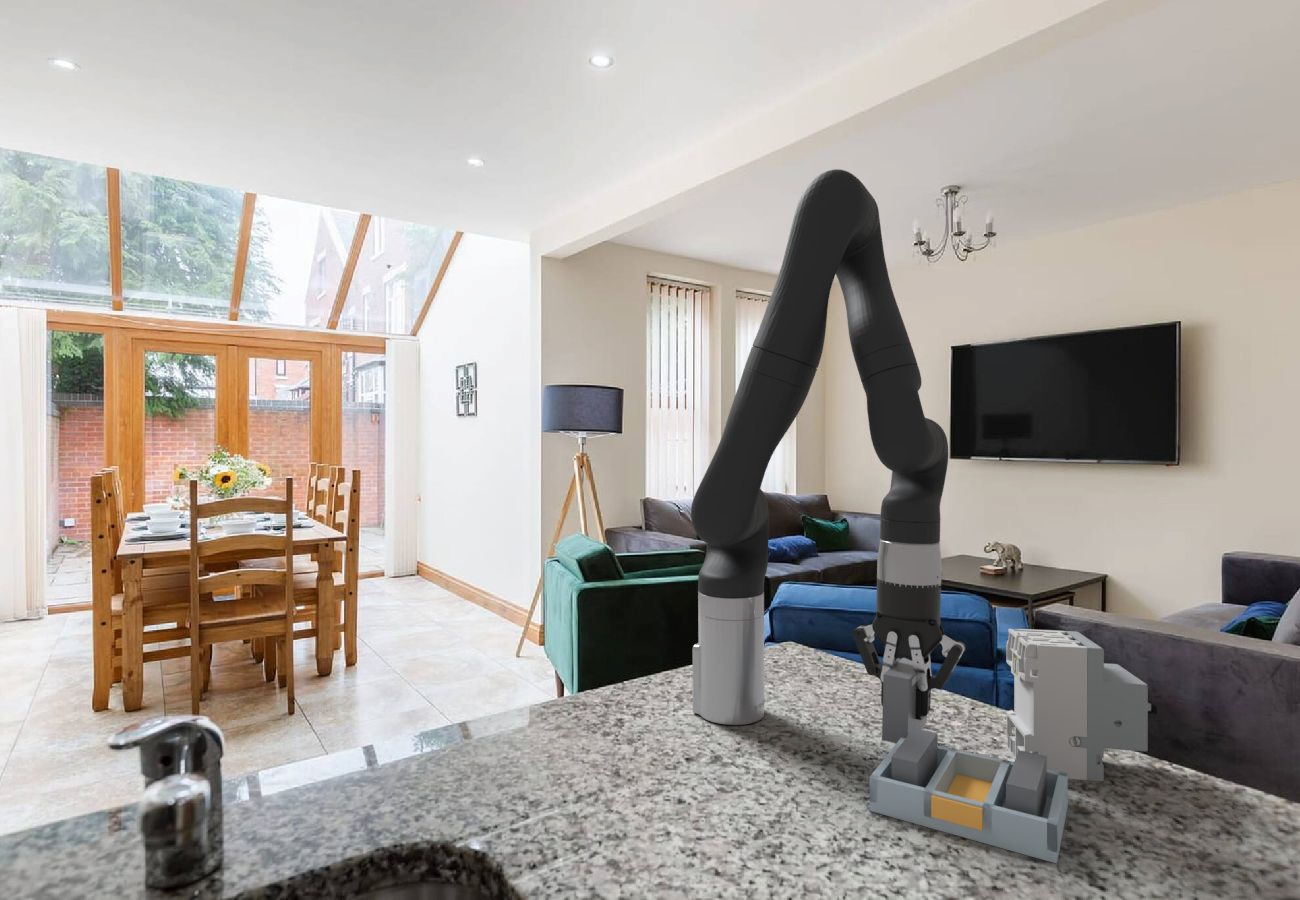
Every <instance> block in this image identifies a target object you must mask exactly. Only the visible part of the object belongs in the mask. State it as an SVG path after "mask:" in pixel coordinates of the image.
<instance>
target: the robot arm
mask: <svg viewBox="0 0 1300 900" xmlns="http://www.w3.org/2000/svg"><path fill="white" fill-rule="evenodd" d="M879 211H880V210H879V207H878V203H877V201H876V199H875V198H874V196H873V195H872V194H871V193H870V191H869V190H868V188H867V187H866V186H865V185H864V183H863V182H862V181H861V180H860V179H859V178H858V177H857V176H856V175H854V174H853V173H851V172H849V171H847V170H844V169H840V168H839V169H837V168H836V169H835V168H834V169H830V170H827V171H825V172H823V173H820V174H818V175H816V177H815V178H814V179H812V181H811V182H810V183H809V184H808V185H807V186H806V187H805V189H804V190H803V192H802V194H801V196H800V197H799V200H798V202H797V204H796V208H795V211H794V216H793V219H792V223H791V227H790V231H789V236H788V239H787V242H786V246H785V247H786V248H785V251H784V256H783V260H782V263H781V267H780V270H779V273H778V277H777V279H776V282H775V283H774V284H775V285H774V288H773V290H772V292H771V294H770V298H769V300H768V302H767V306H766V309H765V311H764V315H763V317H762V318H761V319H762V320H761V322H760V325H759V328H758V331H757V333H756V336H755V338H754V340H753V343H752V347H751V348H750V351H749V353H748V357H747V359H746V362H745V365H744V368H743V371H742V373H741V378H740V380H739V385H738V388H737V390H736V393H735V395H734V399H733V401H732V404H731V407H730V410H729V413H728V416H727V420H726V422H725V425H724V430H723V432H722V436H721V438H720V441H719V443H718V446H717V448H716V449H715V450H716V451H715V453H714V454H713V457H712V459H711V460H710V464H709V465H708V467H707V469H706V472H705V473H704V475H703V477H702V479H701V481H700V483H699V486H698V487H697V489H696V492H695V494H694V496H693V499H692V502H691V509H690V519H691V524H692V526H693V530H694V531H695V533H696V535H697V537H699V538H700V539H701V540H702V541H703V542H704V543H706V554H705V557H704V561H703V564H702V566H701V568H700V570H699V573H698V578H697V579H698V580H697V581H698V582H697V583H698V584H697V593H698V595H697V599H698V601H697V603H698V605H697V607H698V609H697V610H698V613H697V614H698V620H697V621H698V626H697V627H698V630H697V631H698V632H697V633H698V635H697V636H698V642H697V643H695V644H694V645H692V713H694V714H698V715H699V716H701V718H703V719H704V720H706V721H708V722H712V723H715V724H721V725H731V726H740V725H741V726H742V725H748V724H753V723H756V722H759V721H760V720H762V718H763V717H764V716H765V578H766V574H767V571H768V566H769V542H770V541H769V536H770V533H769V532H770V527H769V526H770V514H769V505H768V501H767V497H766V496H765V494H764V492H763V490H762V489H761V488H762V483H763V480H764V478H765V477H764V476H765V474H766V471H767V469H768V467H769V466H768V465H769V463H770V461H771V458H772V456H773V454H774V453H775V450H776V449H777V447H778V446H779V444H780V442H781V441H782V440H783V438H784V436H786V433H787V432H788V430H789V429H790V428H791V426H792V425H793V422H794V421H795V419H796V418H797V416H798V414H799V413H800V411H801V409H802V407H803V405H804V403H805V401H806V399H807V397H808V394H809V391H810V389H811V387H812V384H813V382H814V380H815V379H814V378H815V376H816V374H817V371H818V368H819V365H820V362H821V359H822V355H823V351H824V345H825V338H826V329H827V319H828V307H829V301H830V300H829V299H830V293H831V290H832V286H833V283H834V279H835V276H836V278H837V280H838V282H839V285H840V288H841V291H842V295H843V300H844V304H845V309H846V319H847V328H848V337H849V343H850V346H851V347H850V348H851V352H852V355H853V358H854V362H855V365H856V368H857V372H858V375H859V379H860V381H861V384H862V388H863V391H864V393H865V396H866V412H867V419H868V420H867V421H868V427H869V433H870V434H869V435H870V439H871V442H872V446H873V449H874V451H875V453H876V456H877V458H878V460H879V462H881V463H882V465H883V466H884V467H886V469H888V470H890V471H891V481H890V489H889V491H888V492H887V494H886V495H885V496H884V498H883V499H882V502H881V507H880V524H879V525H880V530H879V533H880V534H879V538H880V539H879V546H878V547H879V548H878V552H877V561H876V562H877V565H876V567H877V568H876V570H877V573H876V608H875V609H876V613H875V617H874V619H873V621H872V624H869V625H859V626H858V627H856V628H855V629H853V630H852V631H851V633H852V637H853V640H854V642H855V645H856V647H857V650H858V652H859V655H860V657H861V660H862V663H863V666H864V667H865V668H864V669H865V670H866V673H867V674H868V675H869V676H874V677H875V678H878V679H879V681H880V683H881V688H880V689H881V692H880V697H881V698H880V703H881V707H882V708H883V674H884V673H885V672H887V671H888V670H889V669H890V668H893V667H894V665H895V664H897V663H898V662H899V660H901V659H902V658H906V659H908V660H911V661H913V668H914V671H915V672H916V679H917V686H918V689H917V690H916V715H915V717H916V719H917V720H922V719H923V718H924V717H926V716H927V717H928V714H930V711H931V707H932V706H931V704H932V703H931V701H932V690H934V689H936V690H942V688H943V687H945V685H946V684H947V683H948V681H949V679H950V678H951V675H952V674H953V672H954V670H955V668H956V667H957V664H958V663H959V662H960V660H961V657H962V655H964V654H963V653H964V652H965V651H966V648H967V647H966V644H965V643H964V642H963V641H956V640H954V639H953V638H950V637H949V636H947V635H946V634H945V630H944V628H943V626H942V623H941V611H942V610H941V608H942V607H941V605H942V604H941V603H942V602H941V600H942V599H941V598H942V578H943V569H942V555H941V554H942V553H941V508H940V507H941V502H942V498H943V492H944V489H945V481H946V477H947V471H948V464H949V443H948V437H947V435H946V433H945V431H944V429H943V427H942V426H941V425H940V424H939V423H938V422H936V421H934V420H932V419H930V418H927V417H925V413H924V411H923V407H922V402H921V399H920V395H919V391H920V389H921V388H922V376H921V372H920V368H919V365H918V362H917V358H916V356H915V355H916V354H915V352H914V348H913V347H912V343H911V341H910V338H909V335H908V334H909V333H908V331H907V329H906V328H907V327H906V326H905V323H904V320H903V318H902V315H901V312H900V309H899V306H898V303H897V301H896V297H895V294H894V291H893V287H892V284H891V279H890V277H889V272H888V268H887V262H886V257H885V252H884V251H885V250H884V242H883V237H882V228H881V220H880V212H879ZM875 636H876V637H877V638H878V640H879V641H880V643H881V645H882V647H883V648H884V653H883V659H882V663H881V660H880V658H879V655H878V652H877V650H876V648H875V645H874V643H873V641H875ZM939 644H941V646H942V650H941V653H942V656H943V657H945V659H944V661H943V662H942V664H941V666H940V668H939V670H938V671H937V673H936V675H932V667H931V666H932V662H931V653H932V652H933V651H934V650H935V648H937V647H938V645H939Z"/></svg>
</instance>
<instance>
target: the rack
mask: <svg viewBox="0 0 1300 900" xmlns="http://www.w3.org/2000/svg"><path fill="white" fill-rule="evenodd" d="M938 738H939V737H938V732H935V731H934V732H933V731H930V730H925V729H924V730H923V729H921V730H920V729H915V728H913V730H912V731H911V732H910V733H909V735H908V736H907V737H906V738H902V737H901V738H900V740H899V741H898V742H897V743H895V744H894V746H893V747H892V749H890V751H889V752H888V753H887V755H885V757H884V758H883V759H882V761H880V763H879V765H878V766H877V767H876V768H875V770H874V771H873V772H872V773H871V775H870V776H869V779H868V780H869V785H868V786H869V790H868V791H869V795H868V796H869V803H868V804H869V811H870V812H872V813H875V814H880V815H884V816H887V817H889V818H894V819H897V820H901V821H905V822H907V823H912V824H915V825H918V826H922V827H926V828H929V829H932V830H936V831H939V832H943V833H947V834H950V835H955V836H957V837H960V838H965V839H968V840H972V841H975V842H979V843H982V844H987V845H989V846H993V847H996V848H1000V849H1004V850H1007V851H1010V852H1015V853H1018V854H1020V855H1021V854H1022V855H1025V856H1028V857H1032V858H1035V859H1039V860H1043V861H1047V862H1050V863H1053V864H1056V865H1057V864H1058V860H1059V856H1060V855H1059V854H1060V851H1061V850H1060V849H1061V845H1062V840H1063V835H1064V828H1065V824H1066V823H1065V822H1066V819H1067V813H1068V809H1069V805H1068V804H1069V803H1068V802H1069V792H1068V791H1069V787H1068V786H1069V779H1068V774H1067V773H1062V772H1057V771H1053V770H1048V769H1047V756H1044V755H1039V754H1034V753H1029V752H1025V751H1020V750H1019V751H1018V754H1017V756H1016V759H1015V760H1014V761H1011V760H1006V759H1002V758H999V757H993V756H990V755H989V756H988V755H984V754H979V753H974V752H971V751H965V750H961V749H957V748H951V747H946V746H942V745H939V744H938Z"/></svg>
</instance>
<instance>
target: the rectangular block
mask: <svg viewBox="0 0 1300 900" xmlns="http://www.w3.org/2000/svg"><path fill="white" fill-rule="evenodd" d="M917 689H918V686H917V679H916V672H915V671H914V668H913V661H911V660H908V659H906V658H900V660H899V662H898V663H897V664H895V665H894V667H893V668H890V669H889V670H888V671H887V672H885V673H884V674H883V707H882V716H881V717H882V719H881V720H882V721H881V722H882V724H881V727H882V728H881V741H884V742H889V743H893V744H896V743H897V742H898V741H899V740H900V738H901V737H902V738H906V737H907V736H908V735H909V733H910V732H911V731H912V730H913V728H915V729H920V730H923V728H924V726H926V724H927V723H928V722H927V720H928V719H927V718H928V715H927V716H926V717H924V718H923V719H922V720H917V719H916V717H915V715H916V690H917Z"/></svg>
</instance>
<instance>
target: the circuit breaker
mask: <svg viewBox="0 0 1300 900" xmlns="http://www.w3.org/2000/svg"><path fill="white" fill-rule="evenodd" d="M1007 632H1008V638H1007V639H1008V640H1007V641H1006V647H1005V648H1006V649H1005V650H1006V651H1005V652H1006V657H1005V658H1006V660H1005V661H1006V663H1007V665H1008V666H1009V667H1010V673H1011V674H1012V675H1013V676H1014V677H1013V679H1014V680H1013V681H1014V683H1013V686H1014V690H1013V691H1014V693H1013V695H1014V698H1013V701H1014V703H1013V705H1014V708H1013V709H1014V710H1013V709H1010V710H1006V711H1005V712H1006V715H1005V716H1006V721H1005V723H1006V727H1005V728H1006V729H1005V730H1006V739H1007V740H1006V750H1007V751H1008V753H1009V755H1010V756H1011V757H1012V758H1013V760H1014V761H1015V759H1016V756H1017V754H1018V751H1019V750H1020V751H1025V752H1029V753H1034V754H1039V755H1044V756H1047V769H1048V770H1053V771H1057V772H1062V773H1067V774H1068V780H1077V781H1091V782H1105V781H1104V778H1105V777H1104V776H1105V775H1104V773H1105V771H1104V770H1105V769H1104V764H1103V759H1104V753H1105V752H1104V751H1105V750H1121V751H1132V752H1134V751H1135V752H1146V753H1147V752H1148V746H1149V745H1148V741H1149V740H1148V739H1149V737H1148V735H1149V734H1148V733H1149V732H1148V730H1149V729H1148V728H1149V727H1148V726H1149V724H1148V722H1149V721H1148V719H1149V718H1148V715H1157V714H1158V707H1157V705H1156V704H1155V703H1153V702H1152V701H1150V700H1149V698H1148V697H1149V694H1148V693H1149V690H1148V689H1149V686H1148V684H1147V683H1146V682H1145V681H1142V680H1141V679H1140V678H1139V677H1137V676H1135V675H1134V674H1133V673H1131V672H1129V671H1128V670H1127V669H1125V668H1124V667H1122V666H1121V665H1119V664H1118V663H1105V659H1104V658H1105V650H1104V648H1102V647H1101V646H1100V645H1098V644H1097V643H1095V642H1094V641H1092V640H1091V639H1089V638H1088V637H1086V636H1085V635H1084V634H1082V633H1081V632H1079V631H1074V630H1056V629H1055V630H1054V629H1053V630H1052V629H1031V628H1030V629H1028V628H1017V629H1012V628H1008V631H1007ZM1012 728H1014V732H1012Z"/></svg>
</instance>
